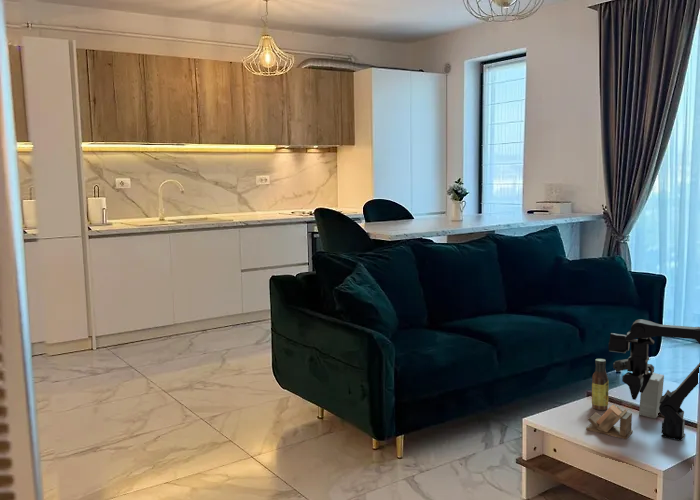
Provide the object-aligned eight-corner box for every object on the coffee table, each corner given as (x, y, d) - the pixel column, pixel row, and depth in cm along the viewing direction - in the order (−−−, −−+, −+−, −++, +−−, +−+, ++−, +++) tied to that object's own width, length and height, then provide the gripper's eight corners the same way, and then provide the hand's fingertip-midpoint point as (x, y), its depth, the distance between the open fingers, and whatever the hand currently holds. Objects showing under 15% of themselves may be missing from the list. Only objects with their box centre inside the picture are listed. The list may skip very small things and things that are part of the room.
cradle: (632, 432, 232) (633, 409, 231) (626, 439, 227) (627, 416, 226) (593, 423, 241) (593, 401, 240) (586, 429, 236) (586, 407, 235)
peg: (622, 412, 232) (613, 404, 234) (618, 415, 229) (609, 407, 231) (608, 426, 236) (599, 418, 237) (605, 429, 233) (596, 421, 234)
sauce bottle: (609, 411, 253) (610, 362, 250) (592, 410, 254) (594, 362, 252) (606, 405, 259) (607, 358, 257) (590, 404, 260) (591, 357, 258)
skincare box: (644, 408, 255) (645, 370, 253) (663, 412, 250) (665, 374, 248) (637, 415, 248) (639, 376, 246) (657, 419, 244) (659, 379, 242)
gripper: (624, 345, 243) (622, 384, 245) (608, 356, 229) (606, 398, 231) (655, 350, 236) (653, 390, 238) (640, 362, 222) (639, 405, 224)
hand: (637, 395), depth 233 cm, fingers open, 9 cm apart
